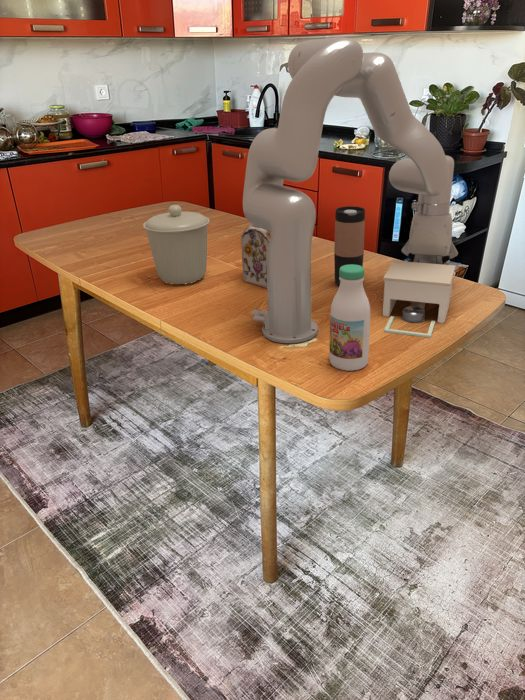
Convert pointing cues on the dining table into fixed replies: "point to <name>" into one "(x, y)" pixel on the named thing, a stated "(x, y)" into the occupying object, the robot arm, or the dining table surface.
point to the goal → (409, 331)
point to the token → (413, 314)
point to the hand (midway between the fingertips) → (426, 277)
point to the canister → (178, 245)
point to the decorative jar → (255, 254)
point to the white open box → (418, 285)
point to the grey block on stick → (424, 259)
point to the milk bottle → (350, 321)
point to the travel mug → (348, 238)
